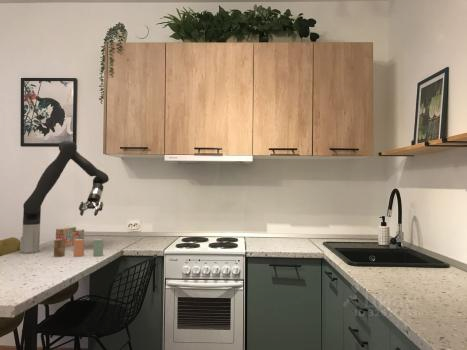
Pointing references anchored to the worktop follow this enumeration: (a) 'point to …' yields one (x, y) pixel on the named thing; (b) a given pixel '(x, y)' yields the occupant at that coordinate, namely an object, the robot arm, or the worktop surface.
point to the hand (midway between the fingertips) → (88, 215)
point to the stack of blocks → (69, 234)
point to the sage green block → (98, 247)
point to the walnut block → (59, 247)
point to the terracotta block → (78, 247)
